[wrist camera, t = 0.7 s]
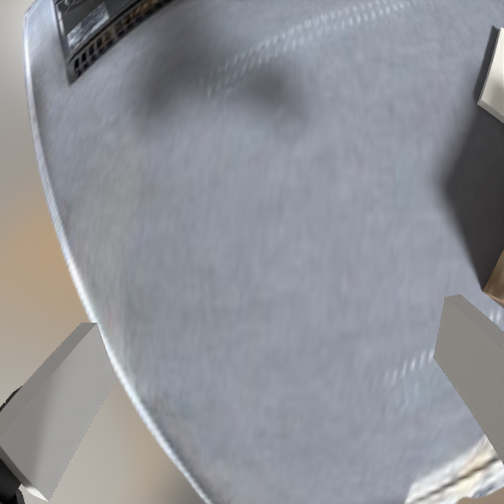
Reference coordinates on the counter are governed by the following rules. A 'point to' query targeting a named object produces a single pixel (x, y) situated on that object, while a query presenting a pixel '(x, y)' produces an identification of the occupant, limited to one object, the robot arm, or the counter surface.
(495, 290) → the tunnel
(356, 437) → the counter surface
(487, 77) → the platter
